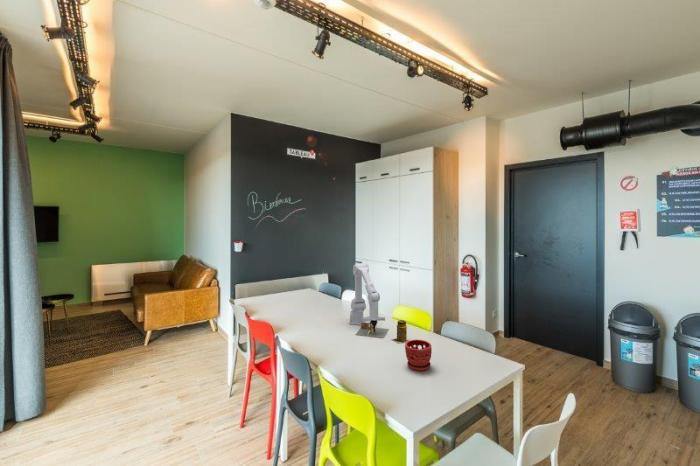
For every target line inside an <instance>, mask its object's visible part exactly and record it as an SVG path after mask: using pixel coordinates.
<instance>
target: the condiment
mask: <svg viewBox="0 0 700 466" xmlns="http://www.w3.org/2000/svg"><path fill="white" fill-rule="evenodd" d="M396 323H397V324H396V338H392V339H391V340H392V341H393V342H394V343H397V344H402V343H406V342H408V341H410V339H407V337H408V336H407V329H408V327H407V321H406V320H402V319H399V320H397V322H396Z"/></svg>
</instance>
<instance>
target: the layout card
mask: <svg viewBox="0 0 700 466" xmlns="http://www.w3.org/2000/svg"><path fill="white" fill-rule="evenodd" d="M388 332H389V328H382V327H375V332H373V335H372V333H371V330H370V326H369V329H361V327H360V329H359V330H358V331H357V332H356V333H355V336H360V337H370V338H378V339H385V337H386V335H387V334H388Z"/></svg>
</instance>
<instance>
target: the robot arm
mask: <svg viewBox="0 0 700 466" xmlns="http://www.w3.org/2000/svg"><path fill="white" fill-rule="evenodd" d="M369 267H370V266H369V264H368V263H358V264H356V263H355V264H354V265H353V267H352V274H353V276H354V296H355V297H353V299H352V300H351V303H350V309H351V311H350V312H349V313H350V314H349V325H357V326H361V322H364V323H366V322H370V321H371V323H372V326H373V332H375V328H377V327H376V326H377V324H378V321H383V322H384V321H385V322H386V317H385V316H379V302H380V299H381V295H380V293H379V292H378V290H376V288H375V285H374V283H373V282H371V278H370V275H369V271H370V268H369ZM363 281H364V282H365V286H364V287H365V289H366V293H367V300H368V304H369V305H368V307H369V316H365V317H364V312H365V310H366V308H367V305H366V299H364V298H363Z"/></svg>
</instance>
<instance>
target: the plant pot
mask: <svg viewBox="0 0 700 466" xmlns="http://www.w3.org/2000/svg"><path fill="white" fill-rule="evenodd" d="M404 343H405V344H404V349H405V350H404V351H405V356H406V360H407V366H408V367H409V368H410V369H411V370H413V371H421V372H423V371H427V370H428V369H430V367H431V365H432V364H431V362H430V361H431V358H432V353H433V352H432V351H433V350H432V344H431V343H430V342H429V341H426V340H424V339H411V340H410V339H409V341H407V342H404ZM419 346H421V348H419Z"/></svg>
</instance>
